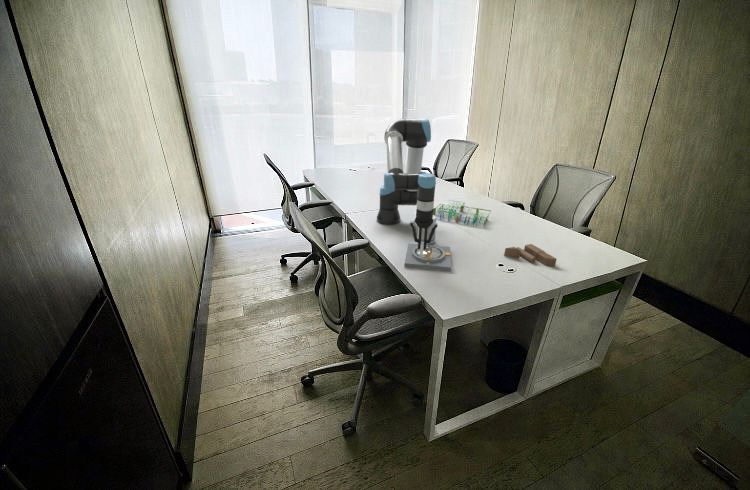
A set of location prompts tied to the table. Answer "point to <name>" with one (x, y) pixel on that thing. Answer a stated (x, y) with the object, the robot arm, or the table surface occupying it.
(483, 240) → the table surface
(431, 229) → the supplement tub
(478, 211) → the house model
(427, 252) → the dial
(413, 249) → the dial plate
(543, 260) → the wooden block set
